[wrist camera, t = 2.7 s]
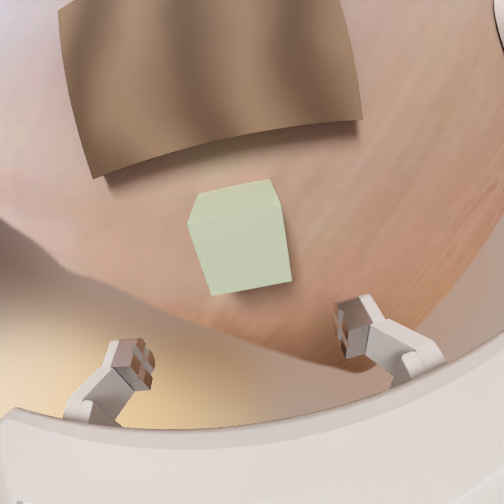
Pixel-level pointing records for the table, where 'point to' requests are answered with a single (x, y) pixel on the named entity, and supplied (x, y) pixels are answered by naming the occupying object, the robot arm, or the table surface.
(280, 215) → the cube
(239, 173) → the table surface
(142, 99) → the serving board
